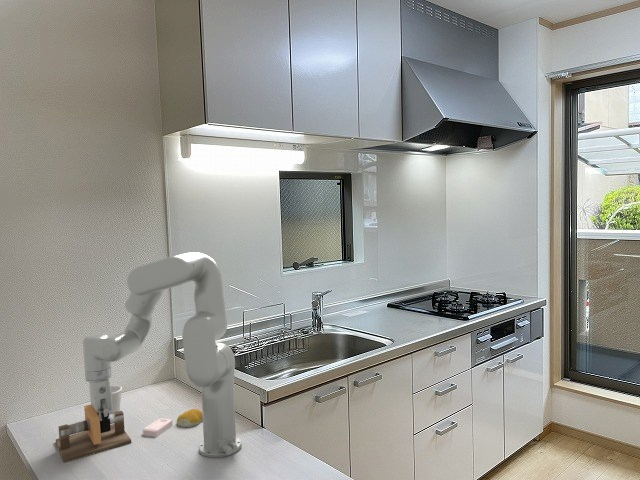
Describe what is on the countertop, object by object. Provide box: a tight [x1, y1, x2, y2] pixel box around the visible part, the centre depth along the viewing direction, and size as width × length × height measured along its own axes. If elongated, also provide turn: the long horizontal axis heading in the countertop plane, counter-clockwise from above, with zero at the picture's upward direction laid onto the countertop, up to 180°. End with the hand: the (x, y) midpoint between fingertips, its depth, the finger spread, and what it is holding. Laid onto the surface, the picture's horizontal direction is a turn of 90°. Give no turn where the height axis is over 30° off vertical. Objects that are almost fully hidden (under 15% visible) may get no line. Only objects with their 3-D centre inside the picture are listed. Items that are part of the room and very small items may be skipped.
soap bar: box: [142, 418, 173, 438], centre depth 163 cm, size 5×9×2 cm, turn 162°
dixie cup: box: [108, 385, 123, 415], centre depth 175 cm, size 8×8×10 cm
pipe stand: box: [55, 409, 132, 463], centre depth 156 cm, size 16×19×8 cm
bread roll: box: [176, 408, 203, 428], centre depth 169 cm, size 8×9×4 cm
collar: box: [83, 404, 101, 445], centre depth 155 cm, size 13×2×8 cm, turn 35°
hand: (101, 426), depth 157 cm, fingers open, 9 cm apart
